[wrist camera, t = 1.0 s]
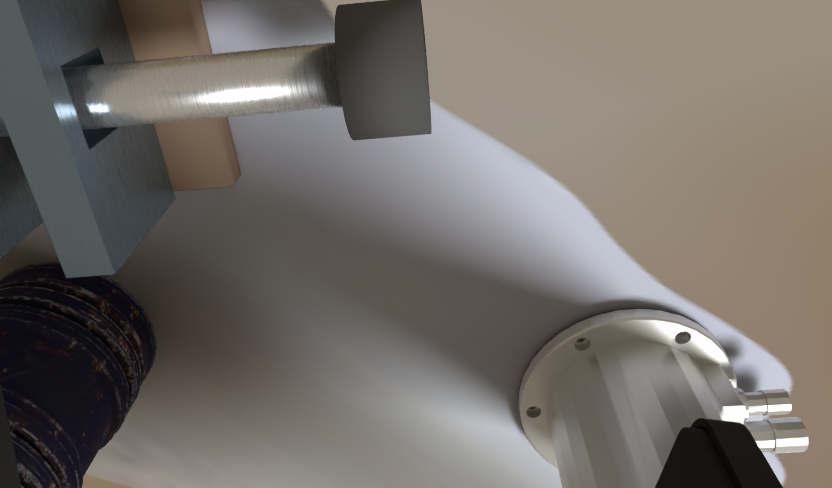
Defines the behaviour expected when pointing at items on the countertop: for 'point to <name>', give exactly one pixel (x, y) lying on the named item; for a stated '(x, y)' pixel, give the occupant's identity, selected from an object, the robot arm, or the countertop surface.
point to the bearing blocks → (72, 140)
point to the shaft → (276, 79)
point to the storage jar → (68, 368)
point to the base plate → (195, 139)
